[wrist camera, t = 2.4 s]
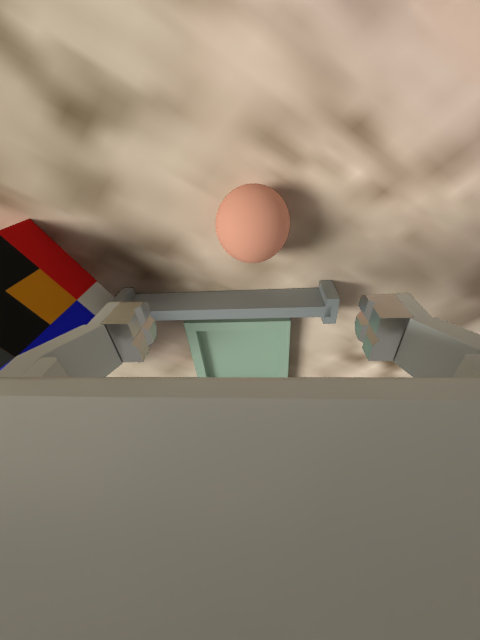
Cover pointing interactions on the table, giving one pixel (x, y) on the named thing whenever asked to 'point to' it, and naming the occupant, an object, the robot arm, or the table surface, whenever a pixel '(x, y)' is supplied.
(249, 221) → the ball
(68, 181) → the table surface
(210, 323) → the dish
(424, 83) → the table surface
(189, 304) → the bar with end supports
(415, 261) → the table surface
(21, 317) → the puzzle toy
